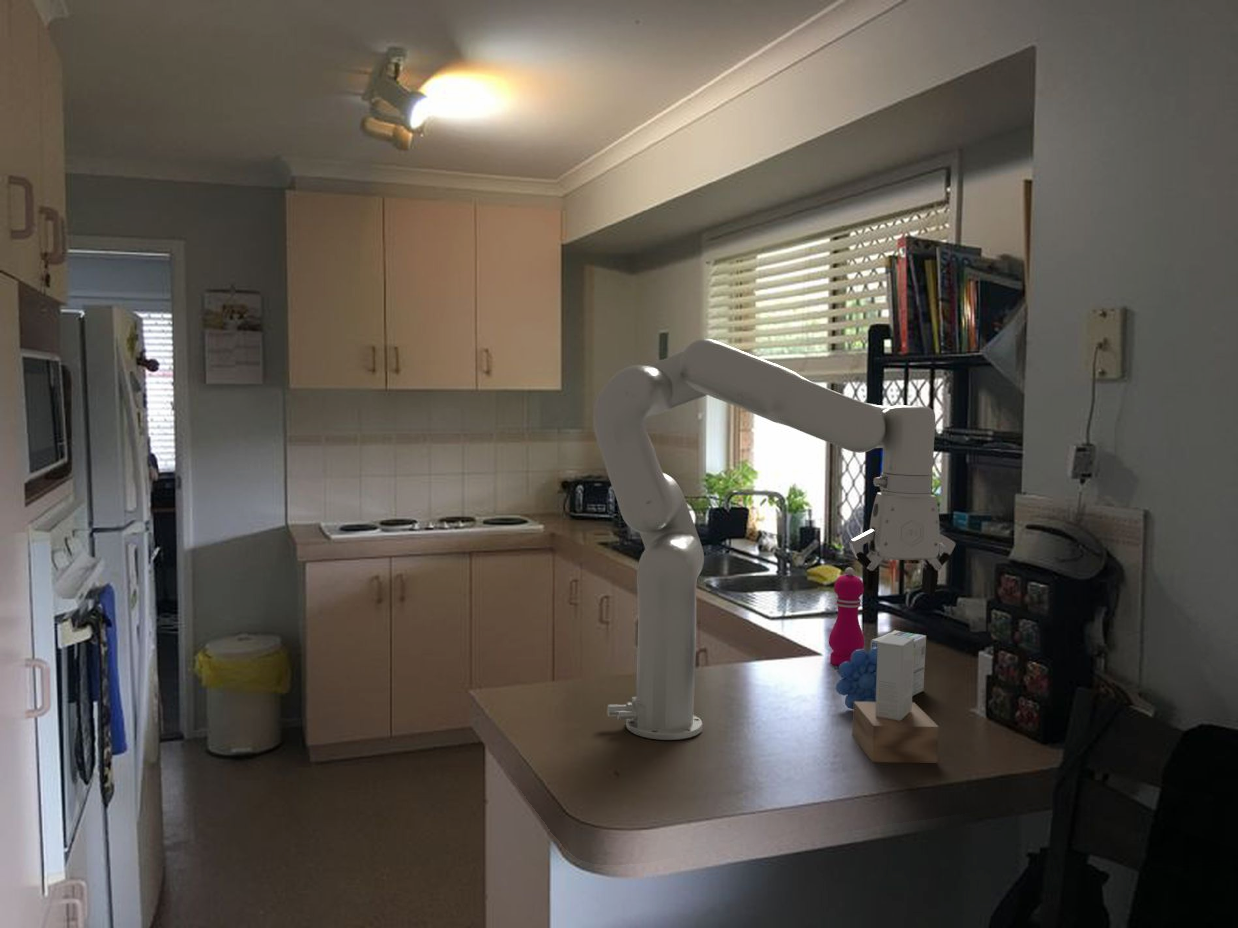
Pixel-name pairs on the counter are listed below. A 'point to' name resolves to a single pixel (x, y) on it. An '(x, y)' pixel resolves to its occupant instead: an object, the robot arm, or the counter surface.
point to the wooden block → (895, 735)
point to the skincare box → (894, 677)
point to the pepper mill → (846, 618)
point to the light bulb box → (917, 660)
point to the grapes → (858, 677)
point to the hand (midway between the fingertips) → (899, 594)
